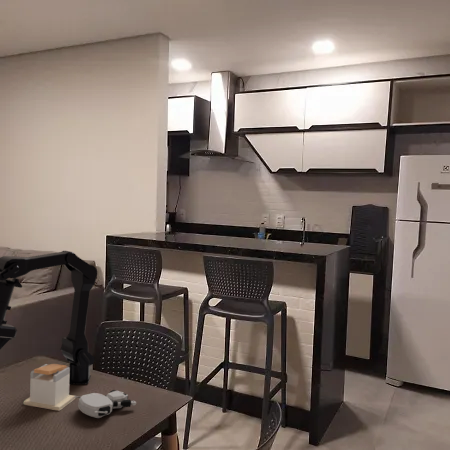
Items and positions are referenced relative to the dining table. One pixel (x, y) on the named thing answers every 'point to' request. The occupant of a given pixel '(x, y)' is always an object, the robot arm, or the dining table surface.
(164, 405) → the dining table surface
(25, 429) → the dining table surface
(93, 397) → the robot toy
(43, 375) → the box
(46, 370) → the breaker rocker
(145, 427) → the dining table surface
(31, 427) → the dining table surface
